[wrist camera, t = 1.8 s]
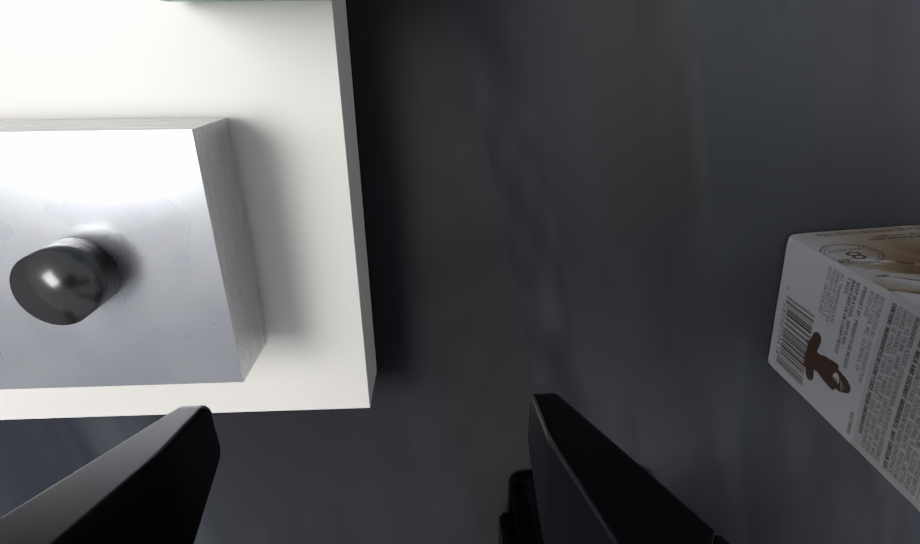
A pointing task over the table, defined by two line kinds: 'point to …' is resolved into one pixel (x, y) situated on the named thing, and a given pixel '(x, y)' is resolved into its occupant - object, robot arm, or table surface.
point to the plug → (238, 0)
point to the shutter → (124, 255)
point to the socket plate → (259, 166)
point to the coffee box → (857, 340)
